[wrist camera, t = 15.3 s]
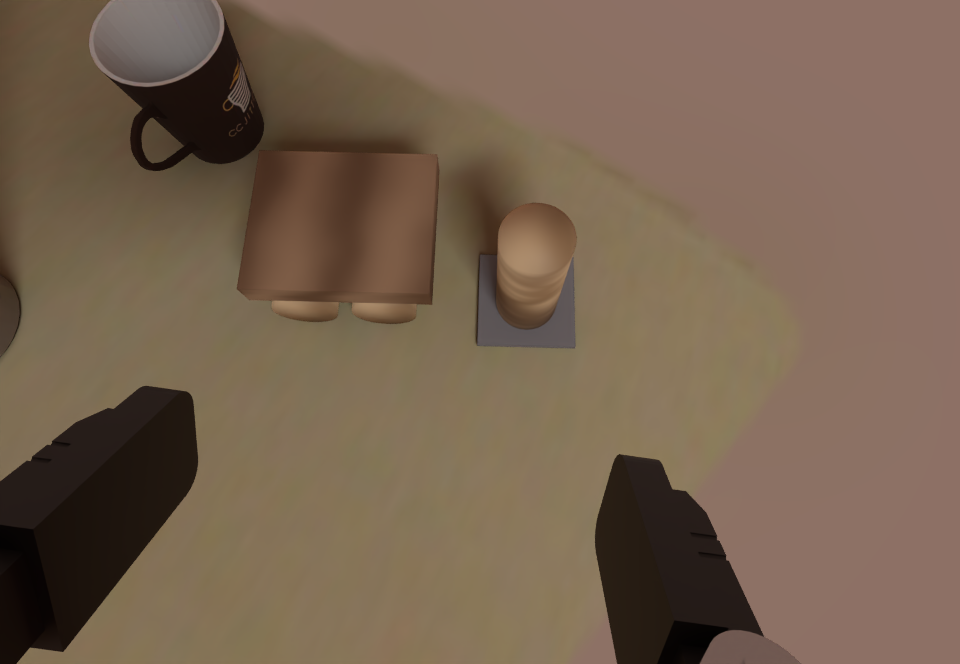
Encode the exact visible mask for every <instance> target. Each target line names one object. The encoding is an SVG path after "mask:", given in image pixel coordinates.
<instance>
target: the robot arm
mask: <svg viewBox="0 0 960 664" xmlns="http://www.w3.org/2000/svg"><path fill="white" fill-rule="evenodd" d="M19 315H20V310H19V301H18V298H17V294H16V291H15V290H14V288H13V287H12V285H11V284H10V282H9V281H8V280H6V279H5V278H4V277H3V276H2V275H0V357H1V355H2V354H3V353H4V352H5V351H6V349H7V348H8V346H9V344H10V343H11V341H12V340H13V337H14V335H15V332H16V329H17V327H18V321H19ZM197 467H198V452H197V440H196V428H195V416H194V404H193V399H192V396H191V395H190V393H188V392H186V391H179V390H172V389H165V388H158V387H151V386H143V387H141V388H139V389H138V390H136V391H135V392H134V393H133V394H132V395H130V396H129V397H128V398H127V399H125V400H124V401H123V402H122V403H121V404H119V405H118V406H117V407H116V408H114V409H110V408H107V409H105V410H103V411H100V412H98V413H96V414H94V415H91V416H89V417H87V418H85V419H83V420H80V421H78V422H76V423H75V424H73V425H72V426H71V427H70V428H68V429H67V430H66V431H64V432H63V433H62V434H61V435H59V436H58V437H57V438H55V439H54V440H53V441H52V444H51V445H46V446H45V447H44V448H43V449H41V450H40V451H39V452H37V453H36V454H35V455H34V456H32V460H31V461H26V462H25V463H23V464H22V465H21V466H19V467H18V468H17V469H16V470H14V471H13V472H12V473H11V474H9V475H8V476H7V477H5V478H4V479H3V480H2V481H0V664H16V663H17V662H18V661H19V660H20V659H21V657H22V656H23V655H24V654H25V653H26V652H27V650H28V649H29V648H30V647H31V648H38V649H46V650H53V651H60V652H64V650H65V649H66V648H67V646H68V645H69V644H70V643H71V641H72V640H73V639H74V638H75V636H76V635H77V634H78V632H79V631H80V630H81V629H82V627H83V626H84V625H85V624H86V622H87V621H88V620H89V618H90V617H91V616H92V615H93V613H94V612H95V611H96V610H97V608H98V607H99V606H100V604H101V603H102V602H103V601H104V599H105V598H106V597H107V596H108V594H109V593H110V592H111V590H112V589H113V588H114V587H115V585H116V584H117V583H118V582H119V580H120V579H121V578H122V576H123V575H124V574H125V573H126V571H127V570H128V569H129V567H130V566H131V565H132V564H133V562H134V561H135V560H136V559H137V557H138V556H139V555H140V553H141V552H142V551H143V550H144V548H145V547H146V546H147V545H148V543H149V542H150V541H151V539H152V538H153V537H154V536H155V534H156V533H157V532H158V531H159V529H160V528H161V527H162V525H163V524H164V523H165V522H166V520H167V519H168V518H169V517H170V515H171V514H172V513H173V511H174V510H175V509H176V508H177V506H178V505H179V504H180V503H181V501H182V500H183V499H184V497H185V496H186V495H187V493H188V492H189V490H190V489H191V487H192V484H193V482H194V479H195V476H196V472H197ZM595 548H596V555H597V560H598V566H599V571H600V576H601V581H602V586H603V592H604V597H605V602H606V607H607V613H608V618H609V623H610V628H611V634H612V639H613V644H614V649H615V655H616V660H617V664H800V662H799V661H798V660H797V659H795V657H794V656H792V655H791V654H790V653H789V652H788V651H786V650H785V649H784V648H782V647H781V646H779V645H778V644H776V643H774V642H773V641H771V640H769V639H767V638H765V637H764V636H763V633H762V631H761V629H760V627H759V625H758V623H757V620H756V618H755V616H754V614H753V612H752V610H751V608H750V605H749V604H748V601H747V599H746V597H745V595H744V593H743V590H742V588H741V586H740V584H739V582H738V580H737V578H736V575H735V573H734V571H733V569H732V567H731V565H730V563H729V561H727V560H726V554H725V552H724V550H723V548H722V545H721V543H720V541H718V540H717V535H716V533H715V530H714V528H713V526H712V524H711V522H710V520H709V518H708V515H707V513H706V512H705V511H704V510H703V509H702V508H701V507H700V506H699V505H698V504H697V503H696V501H695V500H694V499H693V498H692V497H691V496H690V495H689V494H688V493H687V492H686V491H680V490H673V489H672V487H671V485H670V482H669V480H668V478H667V475H666V473H665V470H664V468H663V465H662V463H661V462H660V461H659V460H656V459H649V458H642V457H635V456H628V455H620V454H619V455H617V456H616V458H615V460H614V463H613V466H612V469H611V472H610V476H609V479H608V483H607V486H606V490H605V493H604V497H603V500H602V504H601V507H600V511H599V514H598V518H597V523H596V531H595Z"/></svg>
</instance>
